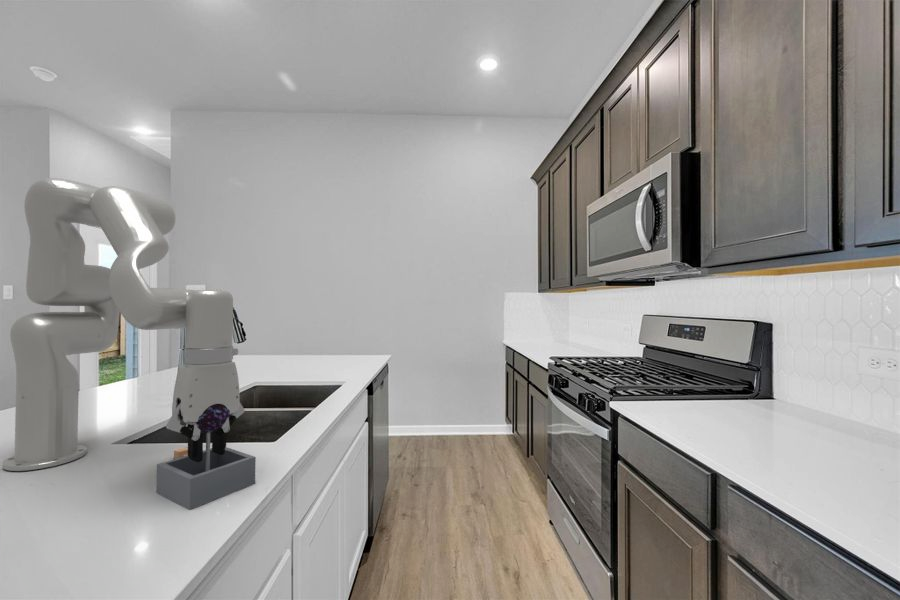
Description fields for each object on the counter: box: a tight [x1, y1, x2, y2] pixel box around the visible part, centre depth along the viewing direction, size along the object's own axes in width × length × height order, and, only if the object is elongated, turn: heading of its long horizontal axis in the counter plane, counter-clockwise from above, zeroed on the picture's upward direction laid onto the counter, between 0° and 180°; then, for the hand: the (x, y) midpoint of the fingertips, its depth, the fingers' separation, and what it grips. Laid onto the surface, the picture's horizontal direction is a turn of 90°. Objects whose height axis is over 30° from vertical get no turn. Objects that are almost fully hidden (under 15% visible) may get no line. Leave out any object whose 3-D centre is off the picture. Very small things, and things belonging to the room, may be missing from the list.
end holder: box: [155, 446, 256, 511], centre depth 74 cm, size 12×12×5 cm
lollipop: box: [190, 404, 230, 471], centre depth 74 cm, size 7×7×15 cm
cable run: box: [173, 446, 188, 459], centre depth 83 cm, size 16×4×2 cm, turn 43°
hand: (207, 455), depth 74 cm, fingers closed on lollipop, 3 cm apart
